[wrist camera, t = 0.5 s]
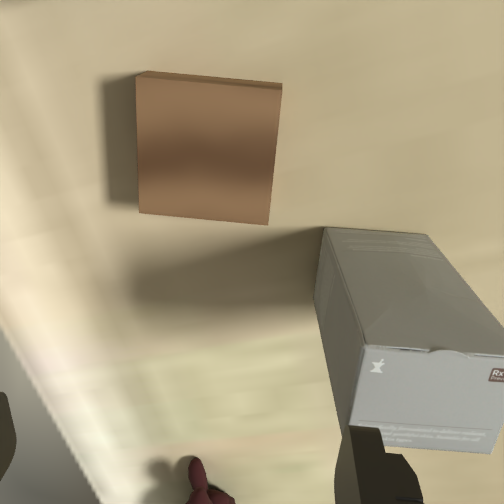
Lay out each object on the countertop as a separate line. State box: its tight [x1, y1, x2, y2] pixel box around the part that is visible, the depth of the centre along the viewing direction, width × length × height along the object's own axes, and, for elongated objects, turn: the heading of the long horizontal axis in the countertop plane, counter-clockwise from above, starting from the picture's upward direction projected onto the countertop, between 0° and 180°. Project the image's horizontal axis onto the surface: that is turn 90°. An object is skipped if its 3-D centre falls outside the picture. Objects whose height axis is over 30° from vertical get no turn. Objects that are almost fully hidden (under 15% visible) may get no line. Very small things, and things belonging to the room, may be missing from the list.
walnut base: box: [135, 71, 282, 225], centre depth 33 cm, size 9×9×4 cm
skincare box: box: [313, 227, 504, 454], centre depth 31 cm, size 8×7×16 cm
